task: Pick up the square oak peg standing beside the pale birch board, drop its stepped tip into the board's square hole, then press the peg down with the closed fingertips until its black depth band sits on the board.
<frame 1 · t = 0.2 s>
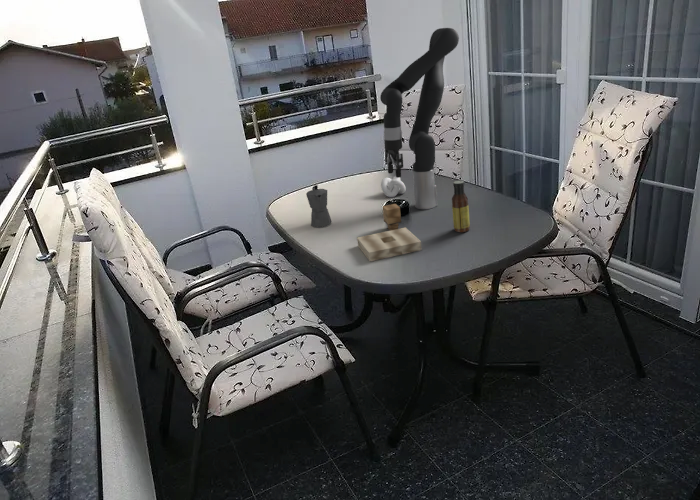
hand: (394, 175, 217), 17 cm above the table, tool pointing down, fingers open, 8 cm apart
oak peg: (393, 228, 207), on the table
white knot: (395, 195, 248), on the table
coffeepot: (321, 223, 223), on the table
sauce bottle: (461, 230, 197), on the table
birch board: (388, 247, 190), on the table
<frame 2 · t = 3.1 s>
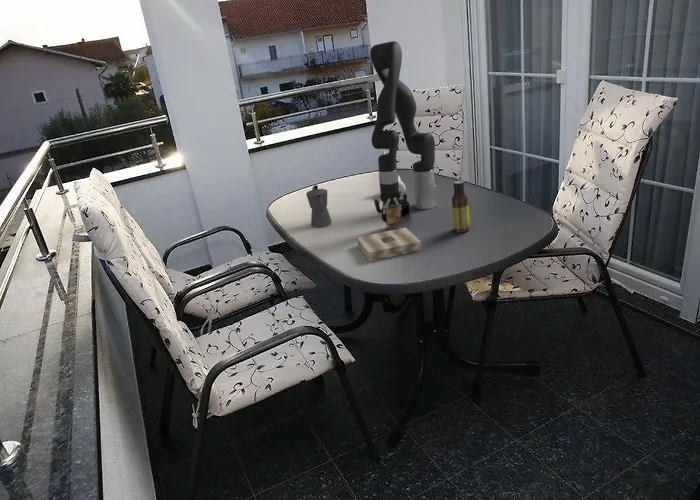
hand: (392, 220, 206), 4 cm above the table, tool pointing down, fingers closed on oak peg, 5 cm apart
oak peg: (393, 228, 207), on the table, touching gripper
everything else where it was.
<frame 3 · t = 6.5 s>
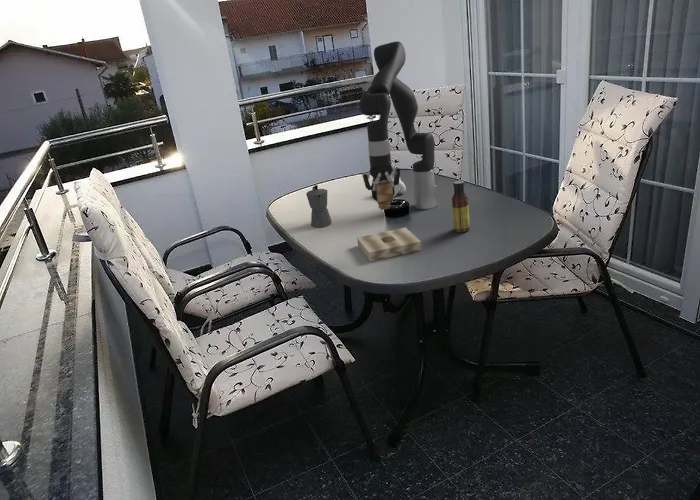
hand: (383, 198, 182), 20 cm above the table, tool pointing down, fingers closed on oak peg, 5 cm apart
oak peg: (384, 207, 183), point 16 cm above the table, touching gripper
everything else where it was.
when the fingers open (6 cm above the table, at t = 9.7 s): oak peg drops 1 cm, resting on birch board.
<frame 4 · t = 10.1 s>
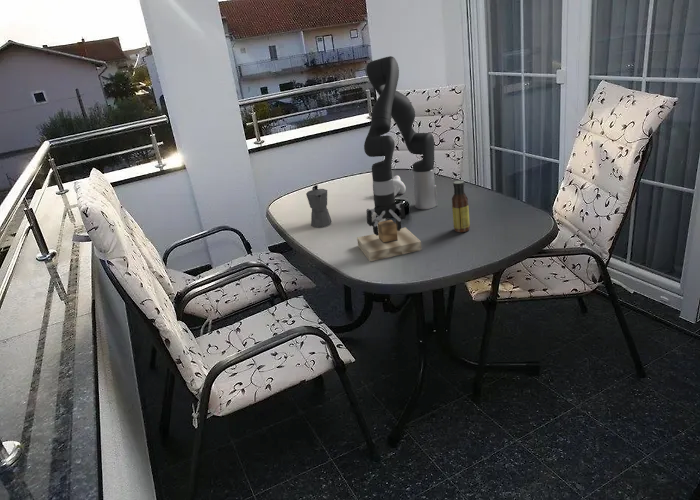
hand: (387, 232, 187), 6 cm above the table, tool pointing down, fingers open, 8 cm apart
oak peg: (388, 246, 189), resting on birch board
everything else where it was.
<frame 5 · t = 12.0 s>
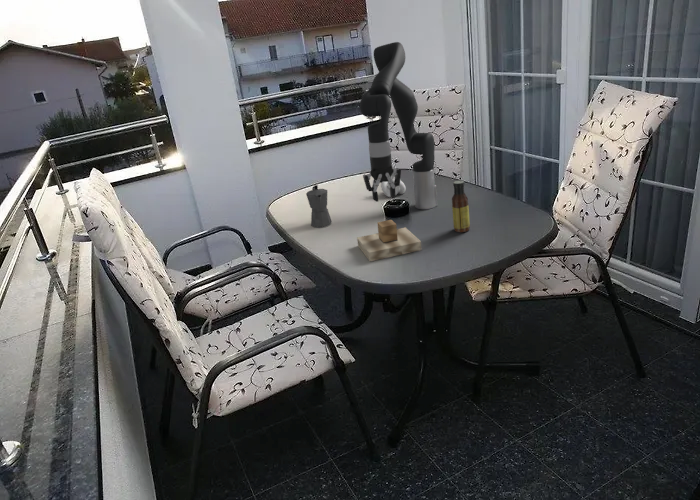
hand: (384, 199, 182), 19 cm above the table, tool pointing down, fingers open, 5 cm apart
nothing on the table moved.
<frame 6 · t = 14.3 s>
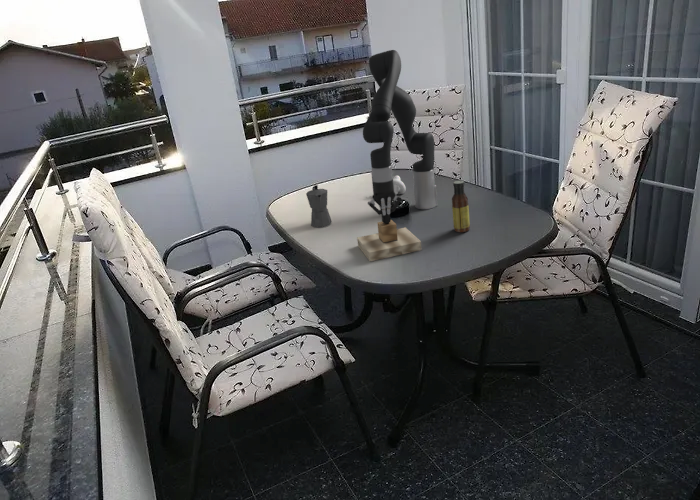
hand: (386, 223, 186), 10 cm above the table, tool pointing down, fingers closed
oak peg: (388, 246, 189), resting on birch board, touching gripper
everything else where it was.
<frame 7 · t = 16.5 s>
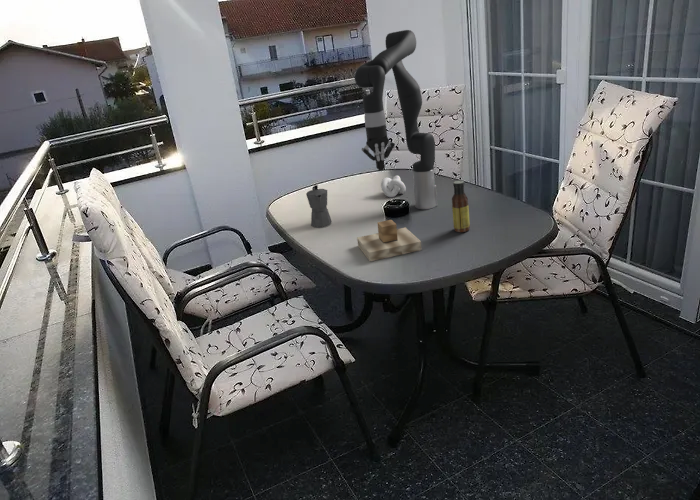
hand: (380, 169, 188), 28 cm above the table, tool pointing down, fingers closed
oak peg: (388, 246, 189), resting on birch board
everything else where it was.
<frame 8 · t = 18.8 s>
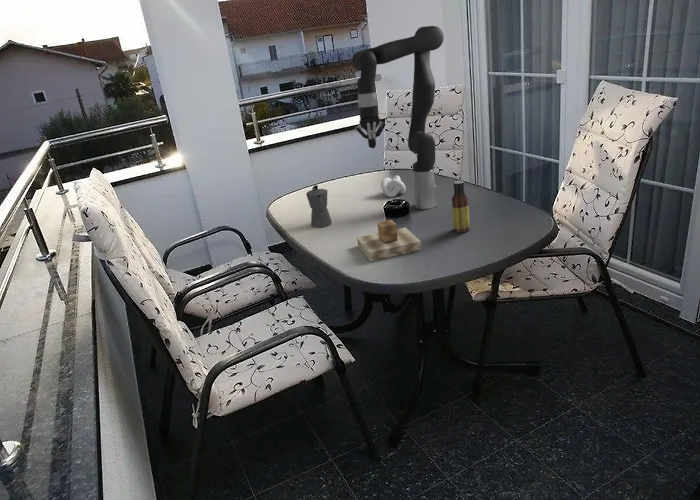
hand: (372, 147, 205), 32 cm above the table, tool pointing down, fingers closed
nothing on the table moved.
at the end: oak peg 0.1 cm off-centre on the birch board, point 0.5 cm above the birch board's base; oak peg tilted 0°; the gripper is holding nothing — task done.
